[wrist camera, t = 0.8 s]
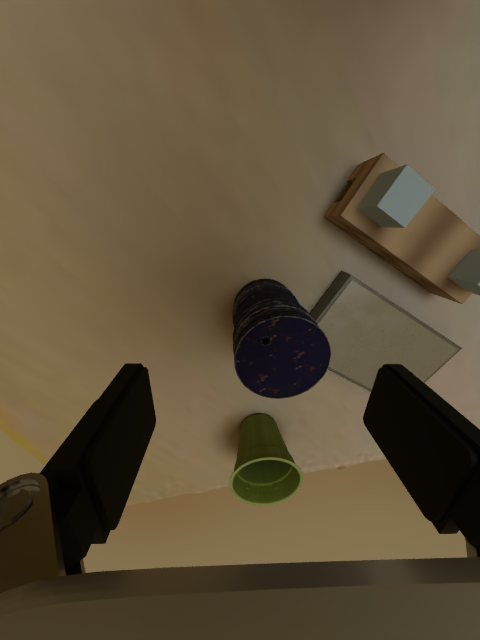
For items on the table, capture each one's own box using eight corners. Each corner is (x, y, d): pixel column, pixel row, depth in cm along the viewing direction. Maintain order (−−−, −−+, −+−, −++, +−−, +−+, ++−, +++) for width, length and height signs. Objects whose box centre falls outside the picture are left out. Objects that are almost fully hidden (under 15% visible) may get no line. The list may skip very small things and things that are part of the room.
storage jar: (305, 313, 37) (349, 367, 23) (257, 346, 39) (270, 413, 25) (270, 264, 33) (297, 293, 20) (219, 303, 36) (212, 354, 22)
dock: (341, 270, 34) (351, 275, 31) (446, 339, 40) (462, 348, 37) (288, 341, 39) (292, 351, 36) (388, 394, 44) (399, 406, 41)
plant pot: (278, 448, 49) (290, 509, 39) (224, 441, 48) (222, 502, 37) (295, 408, 45) (314, 463, 34) (237, 398, 43) (238, 454, 33)
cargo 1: (381, 173, 25) (407, 164, 21) (406, 194, 26) (435, 189, 22) (356, 208, 26) (377, 205, 22) (381, 227, 27) (405, 227, 23)
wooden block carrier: (323, 216, 31) (340, 215, 26) (357, 165, 29) (383, 152, 24) (430, 292, 36) (461, 304, 31) (466, 253, 34) (507, 259, 29)
